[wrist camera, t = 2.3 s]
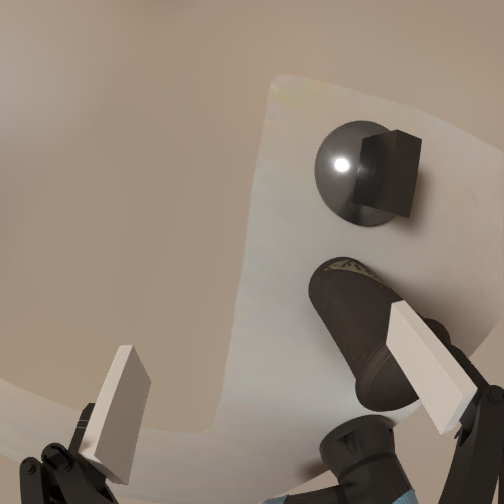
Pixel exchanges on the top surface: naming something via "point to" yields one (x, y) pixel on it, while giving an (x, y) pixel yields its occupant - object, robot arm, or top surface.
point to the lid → (367, 172)
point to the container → (365, 330)
